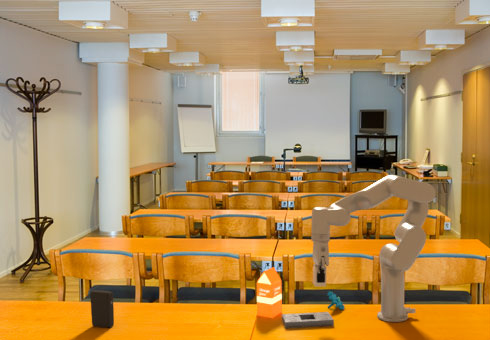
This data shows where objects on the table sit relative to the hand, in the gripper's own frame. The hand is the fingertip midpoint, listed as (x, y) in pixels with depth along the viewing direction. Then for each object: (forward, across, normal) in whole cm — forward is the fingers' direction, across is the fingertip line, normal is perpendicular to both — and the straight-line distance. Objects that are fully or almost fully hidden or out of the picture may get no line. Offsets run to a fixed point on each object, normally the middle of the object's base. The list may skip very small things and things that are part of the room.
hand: (319, 280), depth 249 cm
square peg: (+2, 0, 0) cm, 2 cm away
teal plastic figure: (+18, +17, -12) cm, 28 cm away
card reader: (+21, +11, +89) cm, 93 cm away
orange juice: (+19, +15, +18) cm, 30 cm away
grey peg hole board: (+18, +1, +4) cm, 19 cm away
